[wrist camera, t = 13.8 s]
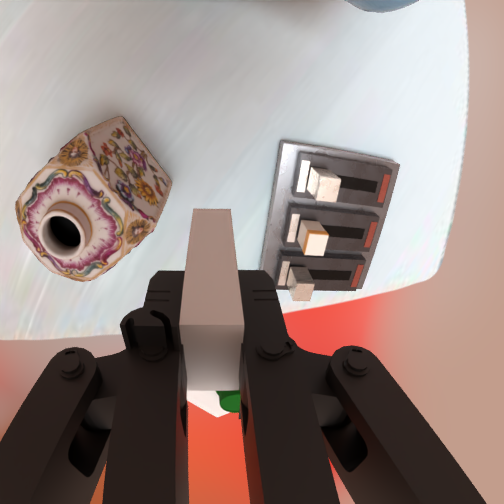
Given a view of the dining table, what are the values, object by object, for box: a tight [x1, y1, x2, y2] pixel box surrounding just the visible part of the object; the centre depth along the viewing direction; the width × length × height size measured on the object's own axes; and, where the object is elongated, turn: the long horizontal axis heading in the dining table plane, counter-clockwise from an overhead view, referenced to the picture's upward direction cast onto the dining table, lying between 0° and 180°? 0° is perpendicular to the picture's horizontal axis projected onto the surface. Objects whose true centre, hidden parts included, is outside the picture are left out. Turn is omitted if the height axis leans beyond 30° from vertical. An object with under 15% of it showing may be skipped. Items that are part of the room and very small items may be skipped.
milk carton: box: [187, 386, 241, 417], centre depth 41 cm, size 9×9×20 cm
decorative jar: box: [15, 117, 172, 282], centre depth 30 cm, size 12×12×18 cm
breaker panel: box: [260, 141, 400, 301], centre depth 41 cm, size 21×17×8 cm
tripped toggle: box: [297, 220, 329, 256], centre depth 39 cm, size 3×2×4 cm
